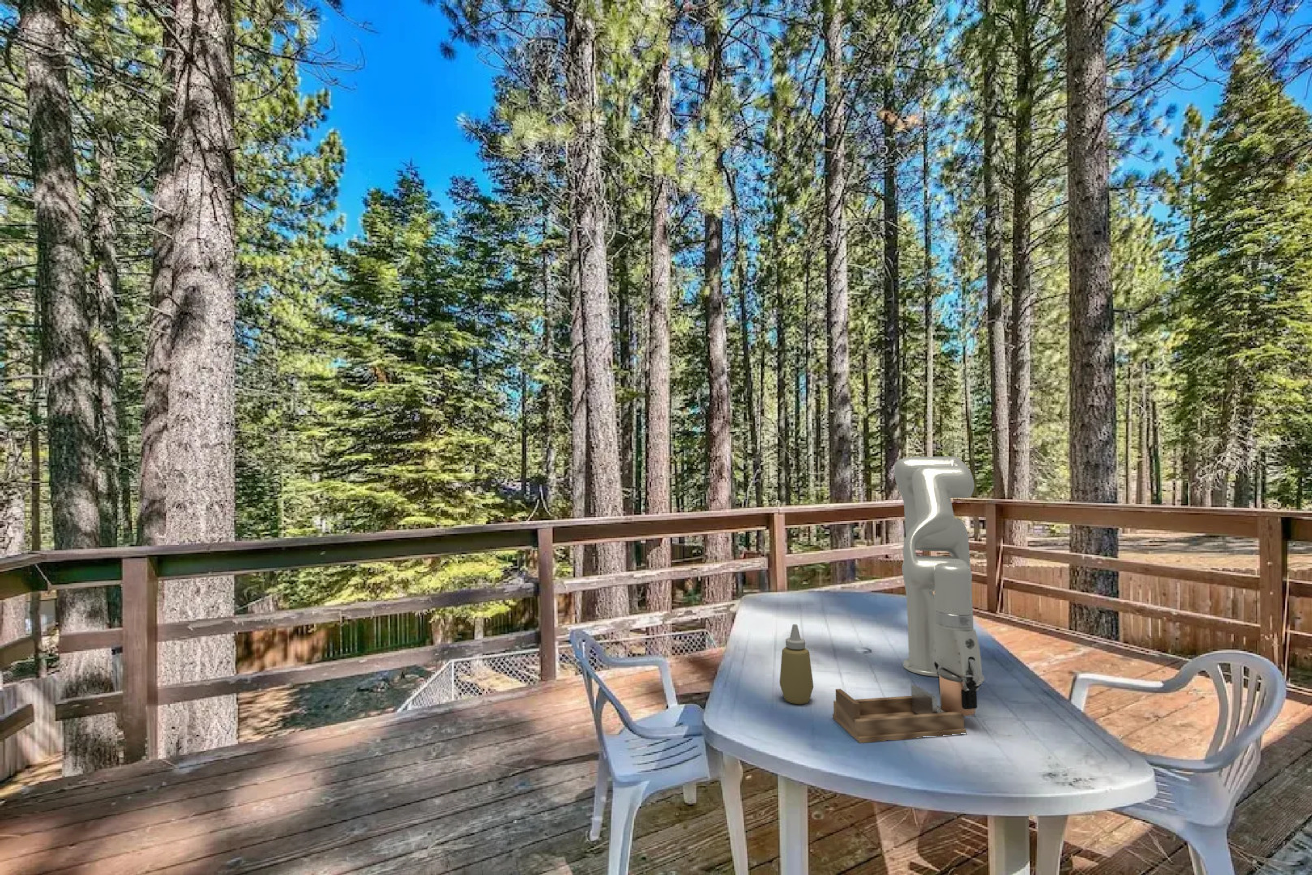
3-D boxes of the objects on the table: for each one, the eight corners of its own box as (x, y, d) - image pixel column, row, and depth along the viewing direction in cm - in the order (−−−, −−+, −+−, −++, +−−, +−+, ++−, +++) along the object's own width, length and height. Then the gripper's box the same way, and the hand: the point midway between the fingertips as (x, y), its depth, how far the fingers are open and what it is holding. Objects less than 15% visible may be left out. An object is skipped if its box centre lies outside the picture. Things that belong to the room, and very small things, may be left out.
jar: (961, 701, 127) (959, 666, 128) (982, 714, 121) (980, 676, 121) (933, 704, 126) (932, 667, 127) (954, 716, 120) (952, 678, 120)
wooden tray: (930, 711, 129) (929, 680, 129) (966, 734, 117) (964, 700, 117) (832, 718, 125) (831, 686, 126) (859, 742, 113) (858, 707, 114)
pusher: (924, 709, 126) (923, 684, 127) (946, 724, 119) (945, 697, 119) (912, 710, 126) (911, 685, 126) (933, 725, 118) (932, 698, 119)
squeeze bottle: (814, 696, 138) (812, 622, 139) (812, 708, 130) (810, 630, 132) (781, 692, 141) (780, 619, 142) (777, 704, 133) (776, 627, 134)
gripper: (998, 629, 117) (1002, 716, 116) (943, 609, 134) (946, 685, 133) (966, 630, 116) (969, 719, 114) (915, 611, 133) (918, 687, 132)
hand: (957, 700), depth 124 cm, fingers closed on jar, 6 cm apart
